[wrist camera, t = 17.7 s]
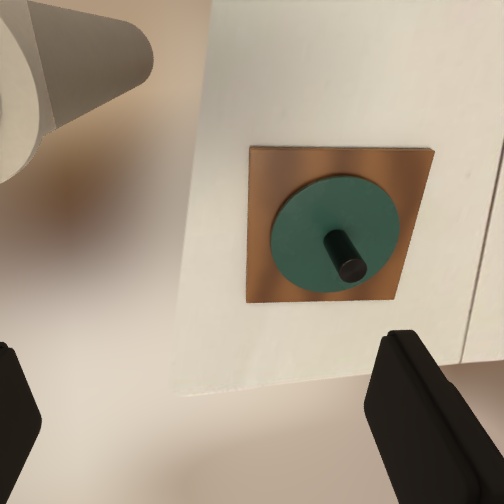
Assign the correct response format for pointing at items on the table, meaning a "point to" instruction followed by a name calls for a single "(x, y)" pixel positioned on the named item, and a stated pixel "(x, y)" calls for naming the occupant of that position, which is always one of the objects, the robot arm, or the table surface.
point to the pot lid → (334, 234)
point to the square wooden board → (310, 170)
